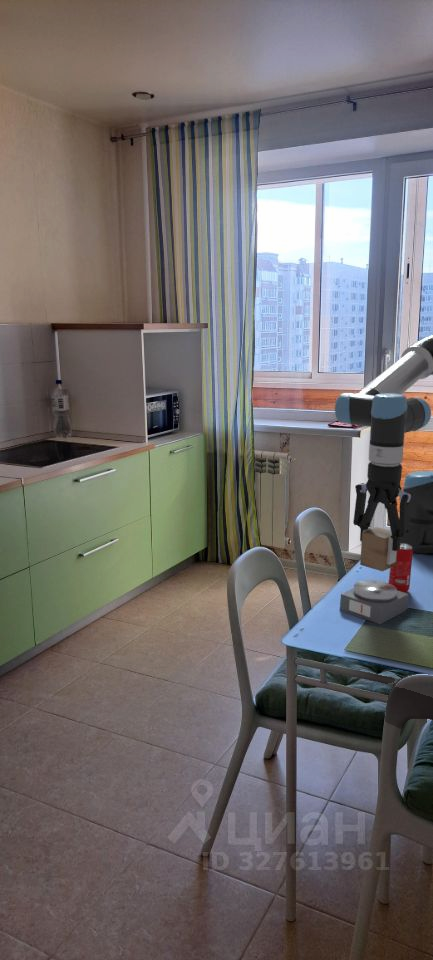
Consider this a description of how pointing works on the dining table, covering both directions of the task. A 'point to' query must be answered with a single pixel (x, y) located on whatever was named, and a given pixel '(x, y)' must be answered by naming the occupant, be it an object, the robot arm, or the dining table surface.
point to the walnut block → (375, 549)
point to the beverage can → (402, 569)
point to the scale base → (373, 607)
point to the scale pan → (375, 591)
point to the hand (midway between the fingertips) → (378, 559)
